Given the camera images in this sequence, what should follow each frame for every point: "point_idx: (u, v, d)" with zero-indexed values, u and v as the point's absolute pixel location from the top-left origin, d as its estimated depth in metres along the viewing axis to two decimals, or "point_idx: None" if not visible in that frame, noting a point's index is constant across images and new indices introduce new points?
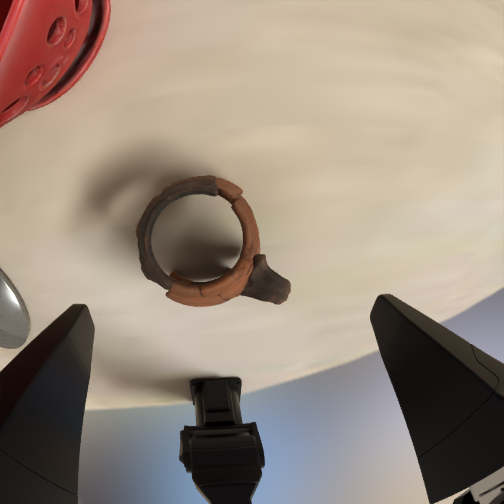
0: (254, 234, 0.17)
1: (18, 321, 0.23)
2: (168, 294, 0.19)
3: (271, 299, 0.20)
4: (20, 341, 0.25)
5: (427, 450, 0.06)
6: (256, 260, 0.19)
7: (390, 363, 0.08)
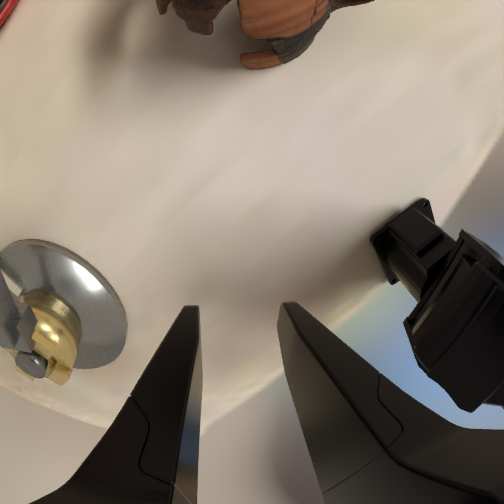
0: None
1: (98, 299, 0.20)
2: (242, 16, 0.09)
3: None
4: (119, 333, 0.22)
5: (328, 488, 0.05)
6: None
7: (291, 382, 0.07)
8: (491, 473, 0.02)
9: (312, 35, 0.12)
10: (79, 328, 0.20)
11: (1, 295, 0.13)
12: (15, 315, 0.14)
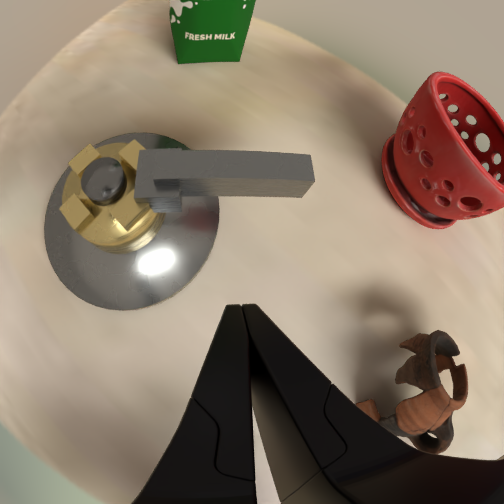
0: None
1: (151, 286, 0.20)
2: (413, 398, 0.16)
3: (448, 441, 0.15)
4: (102, 300, 0.19)
5: (284, 498, 0.05)
6: None
7: None
8: None
9: None
10: (116, 252, 0.19)
11: (215, 189, 0.16)
12: (180, 193, 0.16)
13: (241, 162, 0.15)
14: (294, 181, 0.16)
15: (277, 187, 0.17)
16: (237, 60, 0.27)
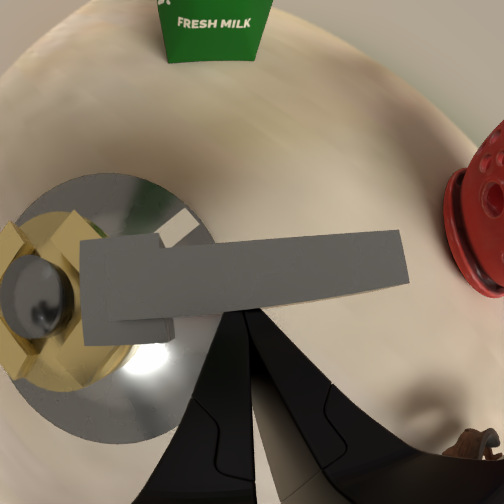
0: None
1: (139, 419, 0.12)
2: None
3: None
4: (76, 428, 0.11)
5: (284, 499, 0.05)
6: None
7: None
8: None
9: None
10: None
11: None
12: (169, 320, 0.09)
13: (285, 266, 0.08)
14: (379, 289, 0.08)
15: (345, 295, 0.09)
16: (251, 59, 0.19)
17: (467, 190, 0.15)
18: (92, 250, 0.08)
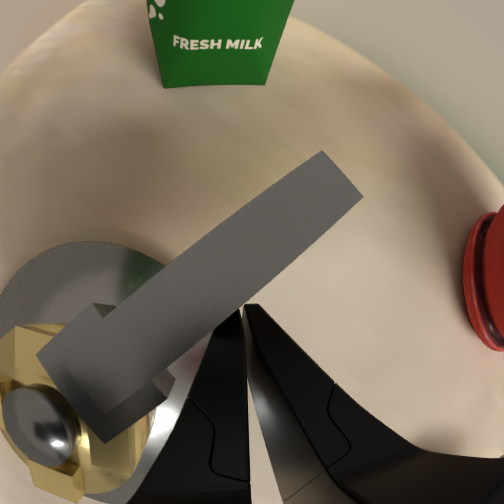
0: None
1: None
2: None
3: None
4: None
5: (287, 498, 0.05)
6: None
7: (252, 386, 0.07)
8: None
9: None
10: None
11: None
12: None
13: (226, 261, 0.07)
14: (335, 221, 0.08)
15: None
16: (262, 83, 0.17)
17: (492, 251, 0.14)
18: (50, 356, 0.06)
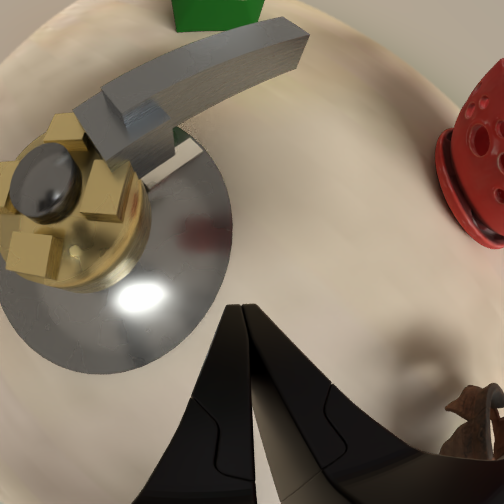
0: None
1: (131, 343, 0.12)
2: None
3: None
4: (64, 358, 0.11)
5: (284, 498, 0.05)
6: None
7: None
8: None
9: None
10: (119, 276, 0.12)
11: (206, 94, 0.10)
12: None
13: (222, 44, 0.09)
14: (291, 41, 0.10)
15: (274, 59, 0.10)
16: None
17: (455, 138, 0.16)
18: (85, 107, 0.08)
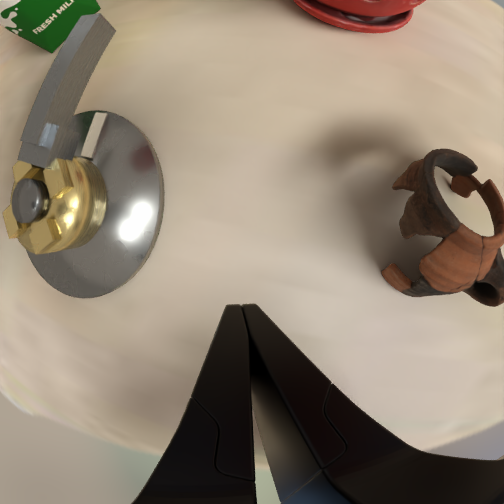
0: None
1: (130, 249, 0.19)
2: (433, 252, 0.13)
3: None
4: (102, 287, 0.19)
5: (284, 498, 0.05)
6: None
7: None
8: None
9: (435, 294, 0.17)
10: (100, 215, 0.18)
11: (71, 96, 0.13)
12: None
13: (57, 68, 0.11)
14: (92, 28, 0.11)
15: (92, 44, 0.12)
16: (98, 9, 0.17)
17: None
18: (22, 153, 0.13)
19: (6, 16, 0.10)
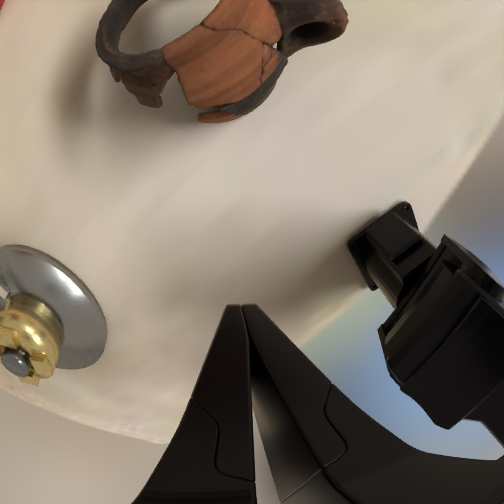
0: None
1: (77, 303, 0.20)
2: (185, 91, 0.10)
3: (322, 8, 0.08)
4: (99, 336, 0.22)
5: (284, 499, 0.05)
6: None
7: None
8: None
9: (270, 85, 0.13)
10: (45, 311, 0.19)
11: None
12: None
13: None
14: None
15: None
16: None
17: None
18: None
19: None
